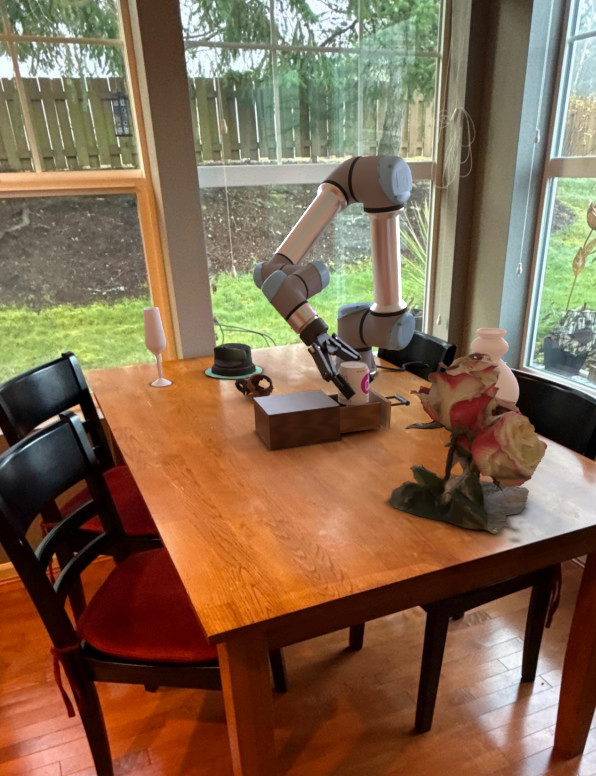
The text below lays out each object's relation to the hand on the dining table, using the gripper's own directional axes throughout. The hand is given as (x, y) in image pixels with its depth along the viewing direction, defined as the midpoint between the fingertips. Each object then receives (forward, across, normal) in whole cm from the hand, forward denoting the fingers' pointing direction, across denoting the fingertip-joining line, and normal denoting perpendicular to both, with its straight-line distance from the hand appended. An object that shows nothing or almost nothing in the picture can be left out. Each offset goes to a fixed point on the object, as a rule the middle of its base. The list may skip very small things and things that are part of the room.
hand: (361, 389), depth 164 cm
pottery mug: (-21, -13, -36) cm, 44 cm away
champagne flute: (-47, -14, -62) cm, 79 cm away
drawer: (+7, -2, -7) cm, 10 cm away
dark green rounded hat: (-36, -36, -52) cm, 73 cm away
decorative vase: (+28, -16, +12) cm, 35 cm away
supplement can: (+5, 0, -8) cm, 9 cm away
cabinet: (-2, +11, -17) cm, 21 cm away
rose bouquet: (+34, +30, +18) cm, 49 cm away
